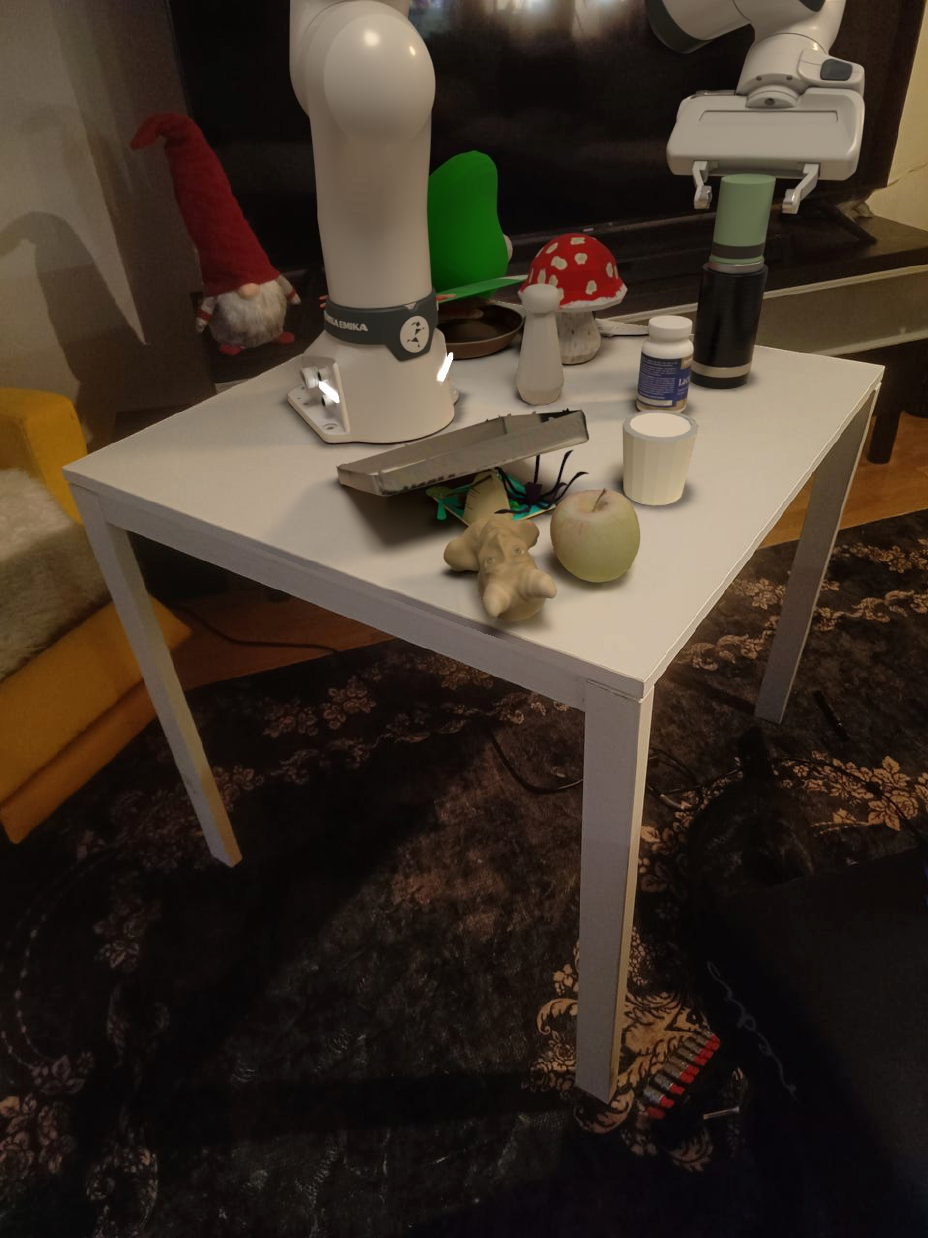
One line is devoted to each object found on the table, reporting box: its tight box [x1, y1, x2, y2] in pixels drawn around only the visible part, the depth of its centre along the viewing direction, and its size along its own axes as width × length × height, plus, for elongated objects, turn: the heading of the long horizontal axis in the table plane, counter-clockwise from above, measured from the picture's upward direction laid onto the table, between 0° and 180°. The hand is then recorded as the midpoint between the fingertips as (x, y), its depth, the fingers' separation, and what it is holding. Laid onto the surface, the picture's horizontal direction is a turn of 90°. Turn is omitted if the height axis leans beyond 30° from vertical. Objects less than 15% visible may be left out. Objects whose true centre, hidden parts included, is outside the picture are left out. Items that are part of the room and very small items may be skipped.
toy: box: [427, 150, 513, 299], centre depth 120 cm, size 26×24×15 cm
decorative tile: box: [335, 407, 590, 497], centre depth 75 cm, size 20×3×20 cm
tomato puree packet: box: [436, 274, 528, 304], centre depth 108 cm, size 15×1×20 cm
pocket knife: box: [597, 326, 649, 338], centre depth 113 cm, size 14×1×2 cm
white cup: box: [622, 410, 699, 506], centre depth 76 cm, size 7×7×7 cm
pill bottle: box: [635, 314, 693, 414], centre depth 90 cm, size 6×6×10 cm
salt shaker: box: [515, 284, 565, 406], centre depth 93 cm, size 6×6×13 cm
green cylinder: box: [710, 174, 777, 264], centre depth 88 cm, size 6×6×8 cm
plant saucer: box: [436, 303, 524, 360], centre depth 113 cm, size 18×18×3 cm
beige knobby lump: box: [442, 516, 558, 623], centre depth 63 cm, size 8×7×12 cm
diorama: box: [425, 449, 589, 527], centre depth 75 cm, size 11×15×6 cm
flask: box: [690, 255, 769, 390], centre depth 95 cm, size 7×7×14 cm
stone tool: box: [438, 297, 495, 323], centre depth 113 cm, size 14×3×15 cm
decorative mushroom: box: [517, 233, 628, 365], centre depth 102 cm, size 14×14×15 cm
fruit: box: [549, 487, 641, 583], centre depth 65 cm, size 8×7×8 cm
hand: (744, 207), depth 87 cm, fingers open, 8 cm apart
